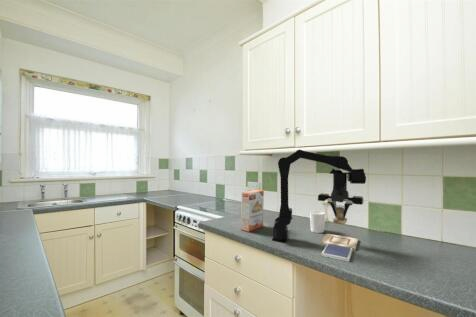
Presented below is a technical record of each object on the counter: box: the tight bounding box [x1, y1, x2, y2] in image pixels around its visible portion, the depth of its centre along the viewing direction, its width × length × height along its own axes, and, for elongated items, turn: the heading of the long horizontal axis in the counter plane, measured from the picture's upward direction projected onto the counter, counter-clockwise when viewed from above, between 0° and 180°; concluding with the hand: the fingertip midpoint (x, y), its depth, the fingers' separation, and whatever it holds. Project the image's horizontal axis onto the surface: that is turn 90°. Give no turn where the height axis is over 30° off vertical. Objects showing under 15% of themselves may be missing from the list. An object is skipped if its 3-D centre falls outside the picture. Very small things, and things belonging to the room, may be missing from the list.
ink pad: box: [321, 244, 353, 262], centre depth 95 cm, size 10×12×2 cm
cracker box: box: [240, 189, 265, 233], centre depth 130 cm, size 14×6×21 cm, turn 140°
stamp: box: [332, 206, 348, 225], centre depth 106 cm, size 5×5×7 cm
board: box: [320, 233, 359, 251], centre depth 108 cm, size 14×14×1 cm
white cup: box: [309, 210, 326, 234], centre depth 125 cm, size 8×8×10 cm
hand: (340, 217), depth 106 cm, fingers closed on stamp, 3 cm apart
